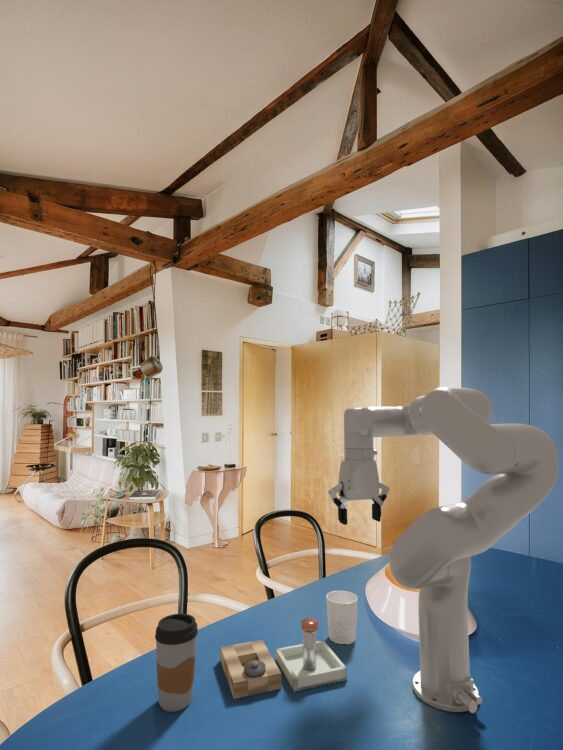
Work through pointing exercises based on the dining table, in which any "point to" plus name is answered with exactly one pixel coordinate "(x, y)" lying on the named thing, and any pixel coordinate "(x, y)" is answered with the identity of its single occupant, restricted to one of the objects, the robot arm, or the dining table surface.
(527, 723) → the dining table surface
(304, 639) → the pin
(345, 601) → the white cup
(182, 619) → the coffee cup
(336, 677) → the tray
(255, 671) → the block
